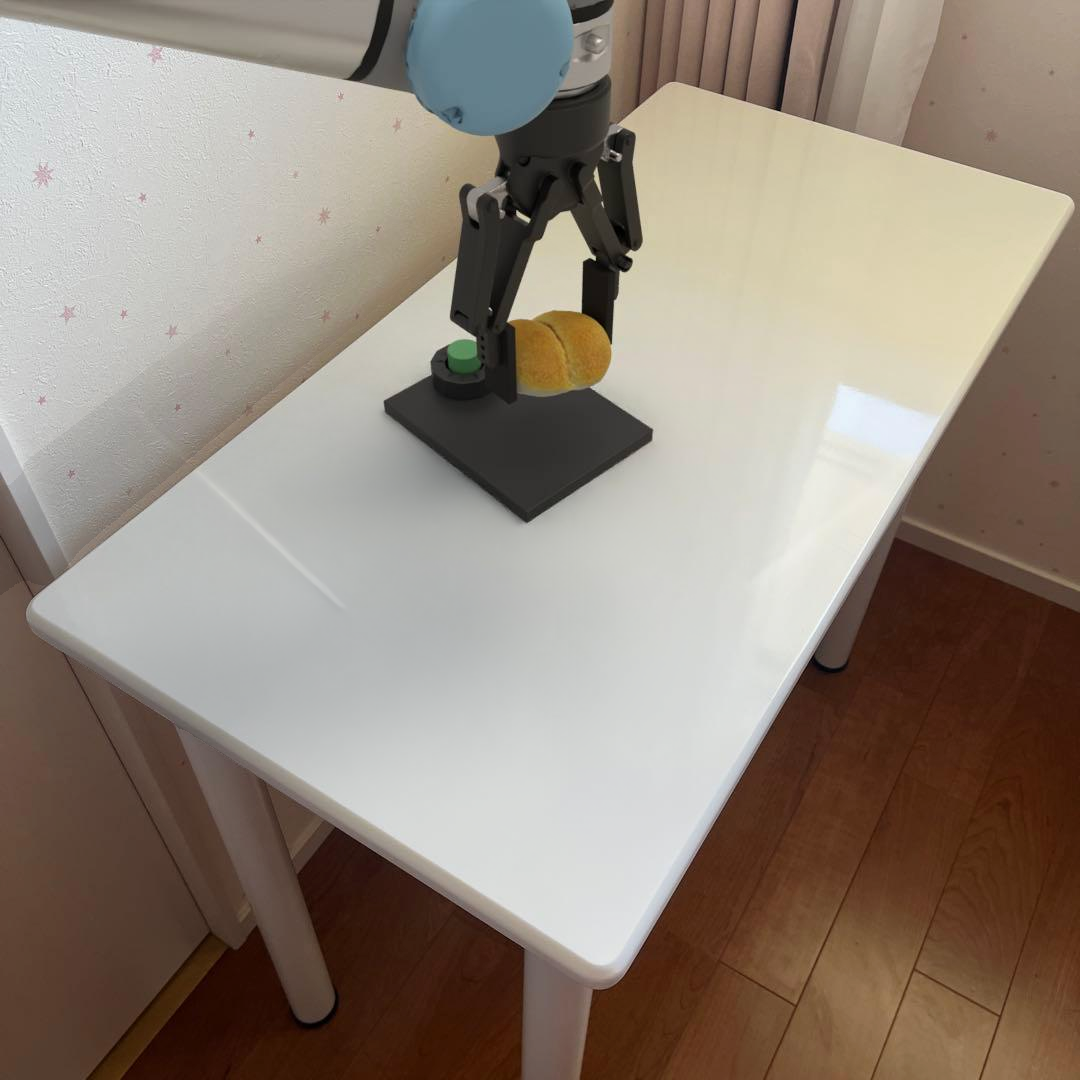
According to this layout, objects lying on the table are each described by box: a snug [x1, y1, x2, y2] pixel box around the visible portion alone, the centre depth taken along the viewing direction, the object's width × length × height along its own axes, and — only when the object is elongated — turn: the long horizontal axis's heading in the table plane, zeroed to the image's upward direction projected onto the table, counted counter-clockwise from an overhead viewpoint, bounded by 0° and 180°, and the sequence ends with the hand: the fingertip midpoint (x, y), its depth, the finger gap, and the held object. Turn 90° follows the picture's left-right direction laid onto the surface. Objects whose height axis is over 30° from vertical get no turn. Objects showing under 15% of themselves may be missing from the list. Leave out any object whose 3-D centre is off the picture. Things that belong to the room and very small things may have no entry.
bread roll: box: [507, 309, 612, 397], centre depth 83 cm, size 8×9×4 cm
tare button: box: [447, 338, 481, 375], centre depth 93 cm, size 3×3×2 cm
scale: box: [383, 343, 654, 523], centre depth 91 cm, size 18×14×3 cm
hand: (550, 365), depth 84 cm, fingers closed on bread roll, 9 cm apart
